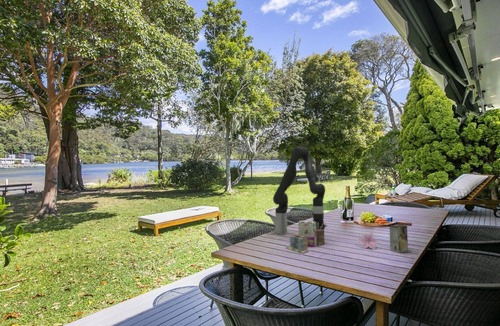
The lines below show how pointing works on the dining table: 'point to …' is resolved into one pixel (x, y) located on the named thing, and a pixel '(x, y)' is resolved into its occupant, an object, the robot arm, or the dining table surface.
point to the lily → (368, 240)
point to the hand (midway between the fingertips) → (318, 236)
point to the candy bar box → (308, 232)
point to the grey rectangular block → (298, 243)
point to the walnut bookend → (320, 236)
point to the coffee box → (398, 238)
